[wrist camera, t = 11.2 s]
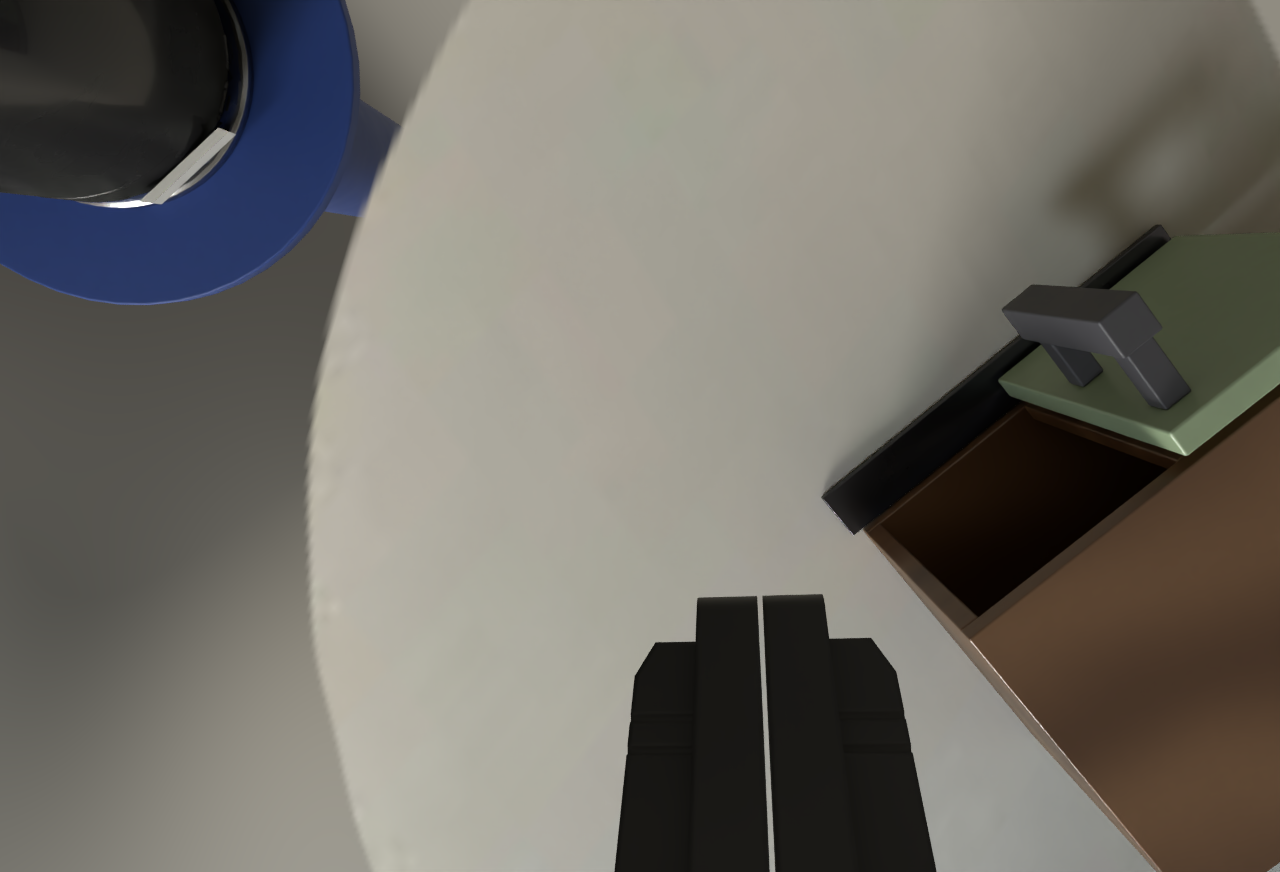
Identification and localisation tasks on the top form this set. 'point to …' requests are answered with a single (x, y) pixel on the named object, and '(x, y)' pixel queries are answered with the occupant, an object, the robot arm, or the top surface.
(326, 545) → the top surface
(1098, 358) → the sliding door
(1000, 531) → the cabinet
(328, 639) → the top surface
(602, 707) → the top surface
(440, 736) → the top surface
